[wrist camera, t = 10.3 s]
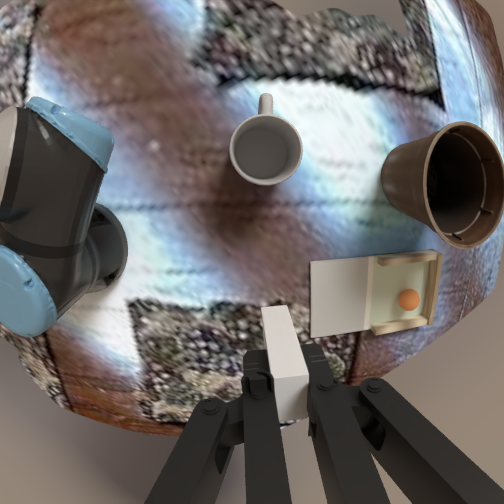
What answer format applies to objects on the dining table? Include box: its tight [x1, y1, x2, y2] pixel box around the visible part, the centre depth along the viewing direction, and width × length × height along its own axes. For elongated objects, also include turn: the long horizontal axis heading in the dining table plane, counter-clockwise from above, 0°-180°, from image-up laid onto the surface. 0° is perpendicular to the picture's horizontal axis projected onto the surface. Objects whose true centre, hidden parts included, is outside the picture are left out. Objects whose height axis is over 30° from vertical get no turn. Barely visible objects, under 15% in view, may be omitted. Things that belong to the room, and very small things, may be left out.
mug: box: [229, 93, 303, 186], centre depth 37 cm, size 12×8×11 cm
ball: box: [399, 289, 420, 311], centre depth 48 cm, size 4×4×4 cm
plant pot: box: [382, 121, 504, 249], centre depth 37 cm, size 16×16×16 cm
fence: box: [371, 249, 443, 335], centre depth 48 cm, size 12×14×4 cm
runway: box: [310, 251, 429, 338], centre depth 49 cm, size 24×14×1 cm, turn 95°
